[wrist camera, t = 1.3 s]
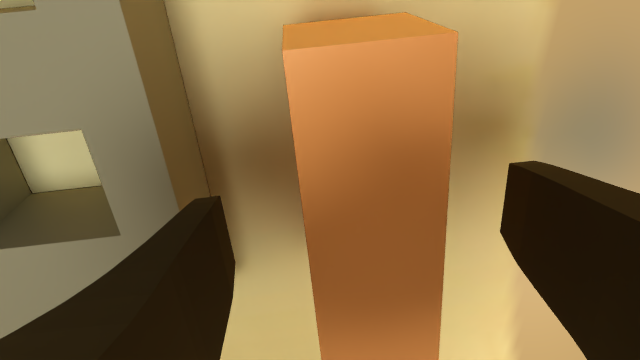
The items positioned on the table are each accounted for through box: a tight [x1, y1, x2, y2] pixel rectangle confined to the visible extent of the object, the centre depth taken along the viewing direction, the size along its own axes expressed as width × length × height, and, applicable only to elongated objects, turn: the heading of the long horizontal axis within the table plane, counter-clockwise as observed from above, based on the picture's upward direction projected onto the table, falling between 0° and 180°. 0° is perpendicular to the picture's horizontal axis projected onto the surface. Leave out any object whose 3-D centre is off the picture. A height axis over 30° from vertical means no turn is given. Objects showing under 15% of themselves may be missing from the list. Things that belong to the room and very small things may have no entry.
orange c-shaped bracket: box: [282, 12, 458, 360], centre depth 12 cm, size 9×3×6 cm, turn 5°
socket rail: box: [0, 0, 211, 339], centre depth 11 cm, size 18×8×4 cm, turn 5°
